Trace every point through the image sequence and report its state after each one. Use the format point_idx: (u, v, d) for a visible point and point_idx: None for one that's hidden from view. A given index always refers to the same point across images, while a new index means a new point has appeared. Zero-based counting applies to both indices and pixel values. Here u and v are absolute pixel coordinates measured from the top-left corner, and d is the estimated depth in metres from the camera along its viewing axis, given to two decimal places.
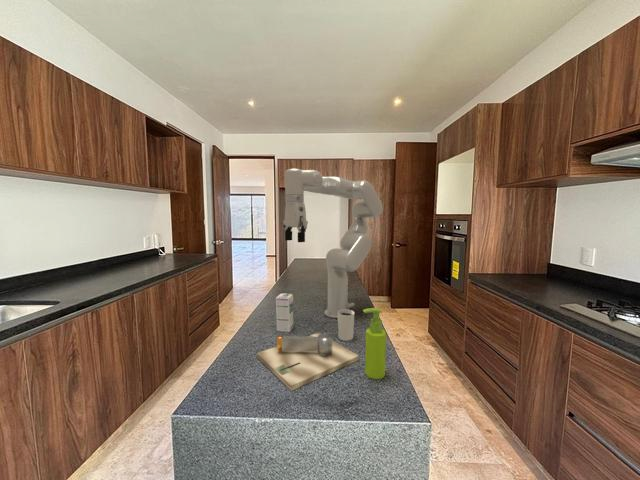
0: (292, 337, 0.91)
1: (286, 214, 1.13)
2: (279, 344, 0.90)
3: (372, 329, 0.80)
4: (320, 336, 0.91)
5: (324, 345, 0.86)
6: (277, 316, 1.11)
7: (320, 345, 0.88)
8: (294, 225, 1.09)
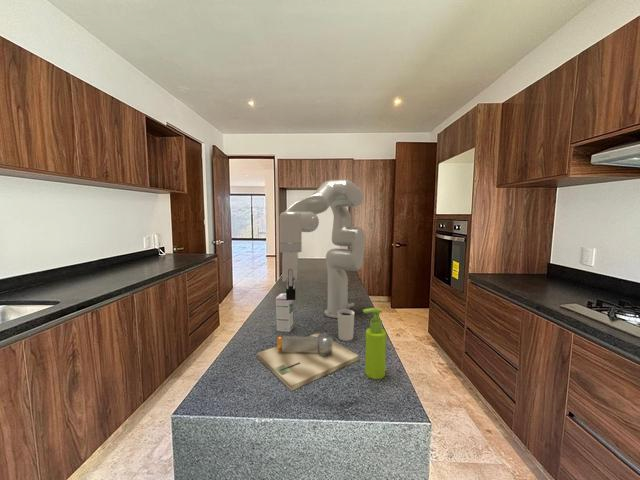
0: (292, 337, 0.91)
1: (297, 266, 0.92)
2: (279, 344, 0.90)
3: (372, 329, 0.80)
4: (320, 336, 0.91)
5: (324, 345, 0.86)
6: (277, 316, 1.11)
7: (320, 345, 0.88)
8: None
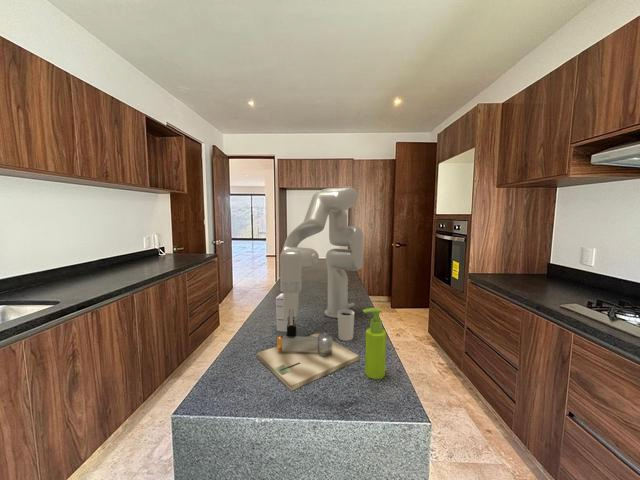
0: (292, 337, 0.91)
1: None
2: (279, 344, 0.90)
3: (372, 329, 0.80)
4: (320, 336, 0.91)
5: (324, 345, 0.86)
6: (277, 316, 1.11)
7: (320, 345, 0.88)
8: None
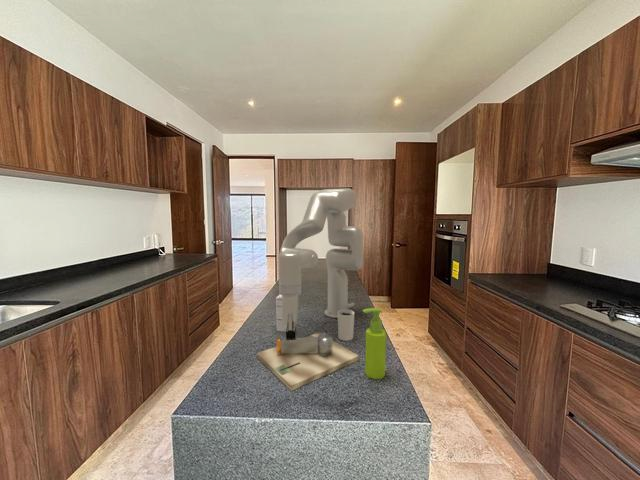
0: (292, 339, 0.90)
1: (297, 308, 0.89)
2: (279, 346, 0.89)
3: (372, 329, 0.80)
4: (320, 336, 0.91)
5: (325, 345, 0.86)
6: (277, 316, 1.11)
7: (321, 345, 0.88)
8: None
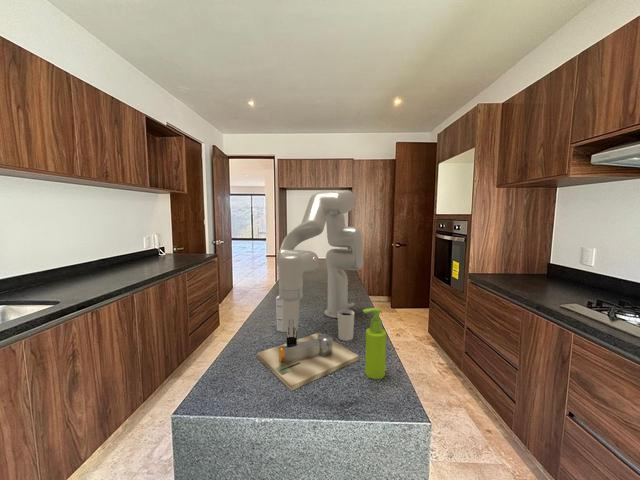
0: (294, 345, 0.85)
1: (298, 313, 0.84)
2: (282, 356, 0.83)
3: (372, 329, 0.80)
4: (319, 337, 0.90)
5: (330, 344, 0.87)
6: (277, 316, 1.11)
7: (324, 345, 0.88)
8: None
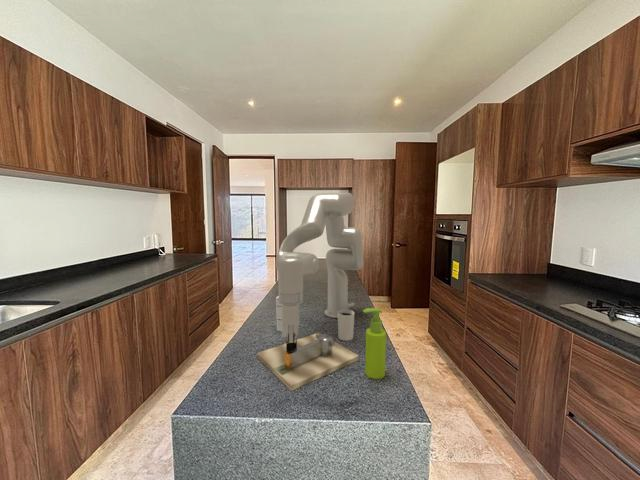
0: (299, 348, 0.83)
1: (298, 318, 0.81)
2: (289, 361, 0.80)
3: (372, 329, 0.80)
4: (320, 338, 0.90)
5: (333, 344, 0.87)
6: (277, 316, 1.11)
7: (326, 345, 0.88)
8: None
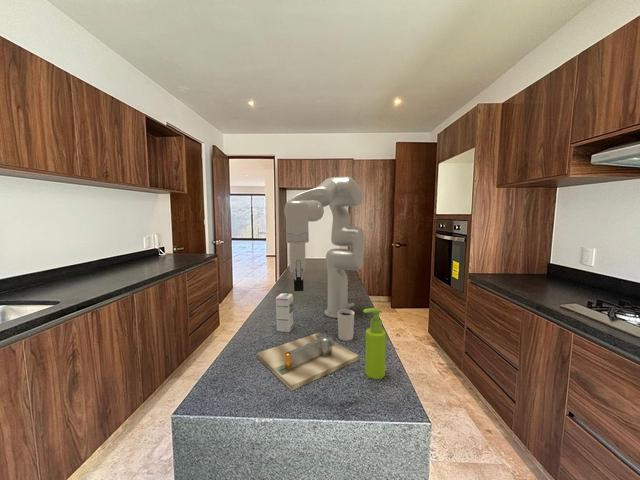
0: (299, 348, 0.83)
1: None
2: (289, 361, 0.80)
3: (372, 329, 0.80)
4: (320, 338, 0.90)
5: (333, 344, 0.87)
6: (277, 316, 1.11)
7: (326, 345, 0.88)
8: None
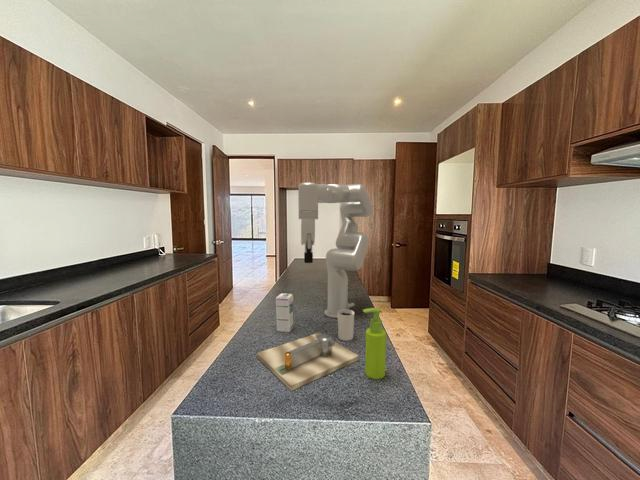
0: (299, 348, 0.83)
1: None
2: (289, 361, 0.80)
3: (372, 329, 0.80)
4: (320, 338, 0.90)
5: (333, 344, 0.87)
6: (277, 316, 1.11)
7: (326, 345, 0.88)
8: (313, 241, 1.09)
